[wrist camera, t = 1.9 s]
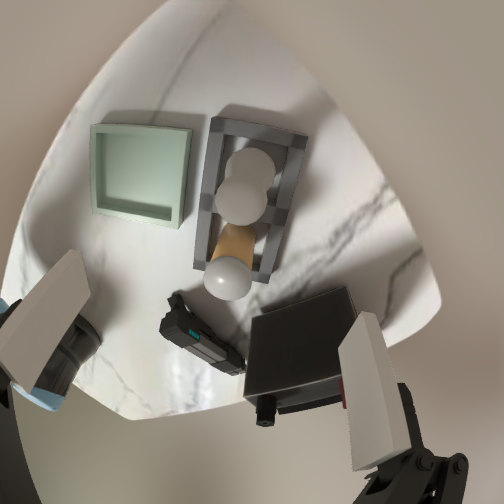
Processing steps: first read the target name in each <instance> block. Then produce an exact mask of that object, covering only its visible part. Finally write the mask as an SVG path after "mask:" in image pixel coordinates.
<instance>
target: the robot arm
mask: <svg viewBox="0 0 504 504" xmlns="http://www.w3.org/2000/svg"><path fill="white" fill-rule="evenodd" d="M90 296H91V293H90V289H89V284H88V280H87V275H86V271H85V266H84V260H83V255H82V252H80V251H76V250H73V249H70V250H69V251H68V252H67V253H66V254H65V255H64V256H63V257H62V258H61V259H60V260H59V261H58V262H57V263H56V264H55V265H54V266H53V267H52V268H51V269H50V270H49V271H48V272H47V273H46V274H45V275H44V276H43V278H42V279H41V280H40V281H39V282H38V283H37V284H36V285H35V286H34V288H33V289H32V290H31V291H30V292H29V293H28V295H27V296H26V297H25V298H24V299H23V300H22V299H19V300H17V301H16V302H15V303H13V304H12V305H11V306H10V307H9V306H8V304H7V303H6V302H5V301H4V300H3V299H2V298H0V504H42V503H41V501H40V499H39V496H38V494H37V491H36V489H35V486H34V483H33V480H32V478H31V475H30V472H29V469H28V465H27V462H26V459H25V455H24V452H23V448H22V444H21V440H20V436H19V431H18V426H17V422H16V416H15V410H14V405H13V397H12V389H11V386H10V384H9V383H10V381H11V380H12V382H13V387H14V388H15V389H16V390H17V391H18V392H19V393H20V394H22V395H23V396H24V397H26V398H27V399H29V400H30V401H32V402H34V403H35V404H37V405H39V406H41V407H43V408H45V409H48V410H50V411H56V410H58V409H59V408H60V406H61V404H62V402H63V400H65V397H66V395H67V392H68V390H69V388H70V386H71V384H72V382H73V380H74V378H75V376H76V374H77V372H78V370H79V368H80V366H81V365H82V364H83V363H85V362H86V361H87V360H88V359H89V358H90V357H91V356H92V355H94V354H95V353H96V351H97V350H98V348H99V346H100V340H99V337H98V335H97V333H96V331H95V330H94V329H93V327H92V326H91V325H90V324H89V323H88V322H87V321H86V320H85V319H84V318H83V317H81V316H80V315H79V314H78V313H79V312H80V310H81V309H82V307H83V306H84V305H85V303H86V302H87V300H88V299H89V298H90ZM338 352H339V358H340V364H341V371H342V377H343V384H344V392H345V399H346V407H347V415H348V424H349V433H350V443H351V455H352V468H353V471H361V470H368V469H371V468H373V467H375V466H377V467H378V470H377V471H375V472H373V473H370V474H368V475H367V476H366V477H365V478H364V479H368V478H371V479H370V480H369V482H368V483H367V485H366V486H365V488H364V489H363V490H362V492H361V493H360V494H359V496H358V497H357V498H356V500H355V501H354V502H353V504H462V500H463V496H464V491H465V486H466V481H467V475H468V468H469V465H468V460H467V458H466V456H465V455H464V454H462V453H456V454H455V455H453V456H451V457H449V458H447V457H438V456H434V454H433V453H432V452H431V451H430V450H429V449H426V448H425V447H424V445H423V442H422V437H421V433H420V428H419V424H418V420H417V415H416V414H415V412H416V411H415V408H414V405H413V400H412V396H411V393H410V391H409V389H408V388H407V386H406V385H405V383H397V381H396V378H395V374H394V371H393V367H392V364H391V360H390V357H389V354H388V351H387V347H386V344H385V341H384V338H383V334H382V331H381V328H380V325H379V323H378V320H377V317H376V314H375V313H371V312H364V311H361V312H360V314H359V316H358V317H357V319H356V321H355V322H354V324H353V326H352V327H351V329H350V331H349V332H348V334H347V335H346V337H345V338H344V340H343V342H342V343H341V345H340V346H339V348H338ZM435 490H436V491H435ZM433 491H435V495H434V496H433V495H432V493H433Z"/></svg>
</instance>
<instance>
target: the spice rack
mask: <svg viewBox="0 0 504 504" xmlns="http://www.w3.org/2000/svg"><path fill="white" fill-rule="evenodd" d="M226 134H227V135H233V136H239V137H244V138H250V139H255V140H260V141H265V142H270V143H274V144H279V145H283V146H288V151H287V155H286V160H285V164H284V168H283V172H282V176H281V180H280V184H279V189H278V193H277V197H276V201H273V200H268V199H267V205H266V209H265V212H264V213H263V215H262V216H261V217H260V218H259V219H258V220H257V221H258V222H263V223H268V224H270V225H269V229H268V233H267V237H266V241H265V245H264V249H263V253H262V257H261V261H260V264H256V263H252V262H253V254H254V247H255V239H256V235H255V232H254V230H253V228H252V227H251V226H250V225H247V226H244V225H234V224H232V223H228V224H226V225H225V226H224V227H223V229H222V232H221V234H220V237H219V240H218V242H217V245H216V248H215V251H214V253H213V255H212V254H209V246H210V238H211V230H212V223H213V215H214V213H218V210H217V207H216V204H215V199H216V193H217V188H218V181H219V175H220V168H221V162H222V156H223V150H224V144H225V138H226ZM307 140H308V136H307V135H306V134H302V133H298V132H294V131H290V130H285V129H281V128H276V127H272V126H267V125H262V124H257V123H252V122H246V121H240V120H234V119H228V118H221V117H212V118H211V124H210V130H209V136H208V142H207V149H206V156H205V163H204V170H203V178H202V186H201V194H200V202H199V211H198V220H197V230H196V240H195V251H194V263H193V269H197V270H202V271H205V273H204V276H203V282H204V285H205V287H206V289H207V290H208V291H209V292H210V293H211V294H212V295H213V296H215V297H217V298H219V299H222V300H238V299H240V298H242V297H244V296H245V295H247V294H248V292H249V291H250V288H251V283H252V281H255V282H261V283H266V284H268V283H269V279H270V276H271V273H272V269H273V266H274V262H275V259H276V255H277V252H278V248H279V244H280V241H281V237H282V234H283V230H284V227H285V223H286V219H287V216H288V212H289V208H290V205H291V201H292V197H293V193H294V190H295V186H296V182H297V178H298V175H299V171H300V167H301V163H302V159H303V155H304V151H305V147H306V144H307ZM218 214H219V213H218Z"/></svg>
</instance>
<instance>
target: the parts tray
mask: <svg viewBox="0 0 504 504" xmlns="http://www.w3.org/2000/svg"><path fill="white" fill-rule="evenodd" d="M192 132H193V130H192V129H184V128H175V127H165V126H153V125H138V124H115V123H98V124H95V125H91V130H90V185H91V203H92V213H95V214H101V215H106V216H111V217H116V218H122V219H127V220H132V221H137V222H142V223H147V224H152V225H157V226H163V227H168V228H173V229H179V227H180V226H181V224H182V223H183V213H184V201H185V191H186V181H187V171H188V163H189V154H190V147H191V139H192Z"/></svg>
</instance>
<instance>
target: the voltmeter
mask: <svg viewBox="0 0 504 504" xmlns="http://www.w3.org/2000/svg"><path fill="white" fill-rule="evenodd" d="M357 317H358V316H357V313H356V310H355V307H354V304H353V301H352V299H351V296H350V293H349V290H348V288H347V285H345V286H343V287H340V288H337V289H334V290H331V291H329V292H327V293H324V294H321V295H318V296H316V297H313V298H310V299H307V300H304V301H301V302H298V303H296V304H293V305H290V306H287V307H284V308H281V309H278V310H275V311H272V312H267V313H265V314H262V315H259V316H256V317H253V318H252V321H251V330H250V339H249V348H248V357H247V366H246V375H245V384H244V393H243V397H244V398H245V399H246V400H247V401H248V402H250V403H251V404H252V405H253V406H254V407H256V414H257V422H256V424H257V425H259V426H263V427H268V426H274V423H275V414H276V409H277V410H278V413H279V415H281V414H287V413H293V412H298V411H303V410H308V409H312V408H317V407H321V406H326V405H330V404H334V403H337V402H341V401H342V402H343V408H344V409H347V407H346V399H345V392H344V384H343V377H342V371H341V364H340V358H339V352H338V348H339V346H340V345H341V343H342V342H343V340H344V338H345V337H346V335H347V334H348V332H349V331H350V329H351V327H352V326H353V324H354V322H355V321H356V319H357Z"/></svg>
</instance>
